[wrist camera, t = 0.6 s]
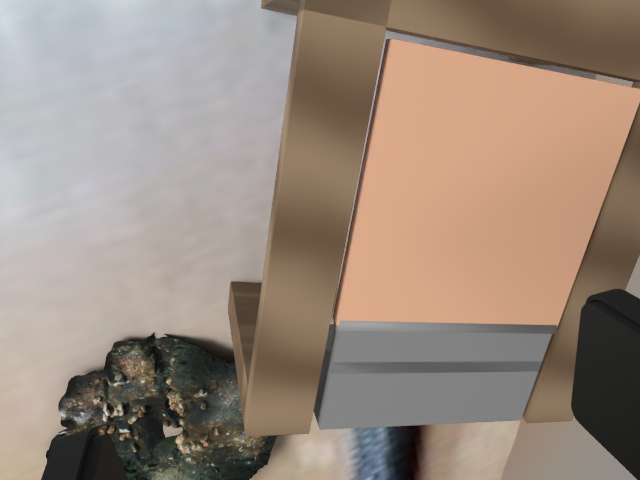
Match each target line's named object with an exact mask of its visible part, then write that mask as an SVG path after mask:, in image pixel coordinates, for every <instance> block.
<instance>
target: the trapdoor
mask: <svg viewBox="0 0 640 480" xmlns="http://www.w3.org/2000/svg"><path fill="white" fill-rule="evenodd" d="M639 103H640V89H638V88H633V87H628V86H623V85H618V84H613V83H608V82H603V81H598V80H593V79H588V78H584V77H579V76H574V75H569V74H564V73H559V72H554V71H549V70H544V69H539V68H534V67H529V66H524V65H519V64H515V63H510V62H505V61H500V60H495V59H490V58H485V57H480V56H475V55H470V54H465V53H460V52H455V51H450V50H446V49H441V48H436V47H431V46H426V45H421V44H416V43H411V42H406V41H401V40H396V39H386V43H385V49H384V54H383V59H382V64H381V70H380V75H379V80H378V85H377V90H376V96H375V101H374V106H373V111H372V116H371V122H370V127H369V132H368V137H367V143H366V148H365V153H364V158H363V163H362V169H361V174H360V179H359V184H358V189H357V195H356V200H355V205H354V210H353V216H352V221H351V226H350V231H349V236H348V242H347V247H346V252H345V257H344V263H343V268H342V273H341V278H340V283H339V289H338V294H337V299H336V304H335V309H334V315H333V319H334V324H330V326H329V331H328V337H327V342H326V347H325V353H324V358H323V363H322V368H321V374H320V379H319V384H318V389H317V395H316V400H315V405H314V410H313V411H314V414H315V417H316V420H317V422H318V425H319V428H320V430H322V429H344V428H366V427H387V426H409V425H430V424H452V423H474V422H495V421H517V420H521V418H522V415H523V413H524V410H525V407H526V404H527V402H528V399H529V396H530V393H531V391H532V388H533V385H534V382H535V380H536V377H537V374H538V371H539V369H540V366H541V363H542V360H543V358H544V355H545V352H546V349H547V347H548V344H549V341H550V338H551V336H552V334H554V333H555V332H556V330H557V327H558V324H559V321H560V319H561V316H562V313H563V310H564V308H565V305H566V302H567V299H568V297H569V294H570V291H571V289H572V286H573V283H574V280H575V278H576V275H577V272H578V269H579V267H580V264H581V261H582V259H583V256H584V253H585V250H586V248H587V245H588V242H589V239H590V237H591V234H592V231H593V229H594V226H595V223H596V220H597V218H598V215H599V212H600V209H601V207H602V204H603V201H604V199H605V196H606V193H607V190H608V188H609V185H610V182H611V179H612V177H613V174H614V171H615V169H616V166H617V163H618V160H619V158H620V155H621V152H622V149H623V147H624V144H625V141H626V138H627V136H628V133H629V130H630V128H631V125H632V122H633V119H634V117H635V114H636V111H637V108H638V106H639Z"/></svg>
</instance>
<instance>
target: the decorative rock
mask: <svg viewBox="0 0 640 480" xmlns="http://www.w3.org/2000/svg"><path fill="white" fill-rule="evenodd" d="M164 335H165V334H164ZM166 336H167V337H161V338H159V339H156V338H155V336H154V333H153V334H152V335H151V336H150V337H148V338H147V339H145V340H143V341H118V342H115V343H114V345H113V347H112V350H111V351H110V352H109V353H108V354H107V357H106V362H105V368H104V370H103V371H99V372H97V371H93V372H90V373H88V374H87V375H83V376H74V377H73V378H71V380H70V381H69V383H68V387H67V391H66V393H65V395H64V396H63V397H62V398H61V400H60V402H59V412H60V414H61V417H62V418H61V425H62V426H64V427H67V428H68V429H65V430H63V431H61V432H59V434H57V435H56V436H55V437H54V438H53V440H52V441H51V445H50V448H49V450H48V451H47V453H46V458H47V462H48V459H49V456H50V453H51V450H52V447H53V445H54V443H55V441H56V439H57V438H59V437H61V436H65V435H69V434H73V433H76V432H80V431H84V430H88V429H91V428H95V429H96V430H97V431H98V433H99V435H103V434H109V435H110V436H111V438H112V441H113V443H114V446H115V448H116V450H117V453H118V455H119V458H120V460H121V463H122V465H123V468H124V470H125V473H126V475H127V477H128V480H249V479H250V478H252V477H253V475H255V474H256V473H257V471H258V470H259V469H260V468H263V467H264V465H267V464H268V460H269V458H270V453H271V450H272V448H273V445H274V443H275V439H276V437H277V435H270V436H250V437H245V430H244V422H243V415H242V408H241V400H240V393H239V386H238V378H237V371H236V364H235V361H234V362H232V363H229V364H228V363H227V362H226V361H225V360H222V359H218V358H217V357H213V355H212V354H209V353H208V352H206V351H204V349H201V348H199V347H197V346H196V345H193V344H188V343H187V342H184V341H182V340H178V339H173V337H169V336H168V335H166ZM163 425H165V426H167V427H169V426H170V425H171V426H172V427H174V428H178V427H182V428H183V431H182V432H181V434H179V435H176V436H171V437H167V438H165V435H164V433H163Z"/></svg>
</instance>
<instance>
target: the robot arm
mask: <svg viewBox="0 0 640 480" xmlns="http://www.w3.org/2000/svg"><path fill="white" fill-rule="evenodd" d="M571 409H572V412H573V414H574V416H575V418H576V420H577V421H578V422H579V423H580V424H581V425H582V426H583V427H584V428H585V429H586V430H587V431H588V432H589V433H590V434H591V435H592V436H593V437H594V438H595V439H596V440H597V441H598V442H599V443H600V444H601V445H602V446H603V447H604V448H605V449H606V450H607V451H609V452H610V453H611V454H612V455H613V456H614V457H615V458H616V459H617V460H618V461H619V462H620V463H621V464H622V465H623V466H624V467H625V468H626V469H627V470H628V471H629V472H630V473H631V474H632V475H633V476H634V477H635V478H637V480H640V299H639V298H637V297H635V296H634V295H632V294H630V293H628V292H626V291H624V290H622V289H612V290H608V291H605V292H601V293H597V294H593V295H591V296H589V297H588V298H587V300H586V303H585V305H583V307H582V309H581V314H580V323H579V333H578V342H577V352H576V361H575V371H574V380H573V390H572V399H571ZM41 480H128V477H127V475H126V473H125V470H124V468H123V465H122V463H121V460H120V458H119V455H118V453H117V450H116V448H115V446H114V443H113V441H112V438H111V436H110V435H109V434H103V435H99V433H98V431H97V430H96V429H95V428H91V429H88V430H84V431H80V432H76V433H73V434H69V435H65V436H61V437H59V438H57V439H56V441H55V443H54V445H53V447H52V450H51V453H50V456H49V459H48V462H47V464H46V467H45V470H44V473H43V476H42V479H41Z"/></svg>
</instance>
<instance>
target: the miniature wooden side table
mask: <svg viewBox="0 0 640 480" xmlns="http://www.w3.org/2000/svg"><path fill="white" fill-rule="evenodd" d="M261 8H263V9H268V10H273V11H278V12H283V13H287V14H292V15H298V16H297V24H296V31H295V39H294V46H293V54H292V61H291V69H290V76H289V84H288V91H287V99H286V106H285V114H284V121H283V128H282V136H281V143H280V151H279V158H278V166H277V173H276V181H275V188H274V196H273V203H272V211H271V218H270V226H269V233H268V241H267V248H266V256H265V263H264V271H263V278H262V286H261V283H246V282H231V285H230V294H229V303H228V313H229V320H230V327H231V335H232V342H233V349H234V356H235V364H236V371H237V378H238V386H239V393H240V400H241V408H242V415H243V422H244V430H245V437H250V436H270V435H291V434H309V431H310V426H311V421H312V416H313V410H314V405H315V400H316V395H317V389H318V384H319V379H320V374H321V368H322V363H323V358H324V353H325V347H326V342H327V337H328V331H329V326H330V321H331V316H332V310H333V305H334V300H335V295H336V289H337V284H338V279H339V274H340V268H341V263H342V258H343V253H344V247H345V242H346V237H347V232H348V226H349V221H350V216H351V211H352V205H353V200H354V195H355V190H356V184H357V179H358V174H359V169H360V163H361V158H362V153H363V148H364V142H365V137H366V132H367V127H368V121H369V116H370V111H371V106H372V100H373V95H374V90H375V85H376V79H377V74H378V69H379V64H380V58H381V53H382V48H383V42H384V37H385V32H386V30H387V31H392V32H397V33H402V34H406V35H411V36H416V37H421V38H426V39H430V40H435V41H440V42H445V43H450V44H455V45H459V46H464V47H469V48H474V49H479V50H483V51H488V52H493V53H498V54H503V55H508V56H510V59H511V60H516V61H521V62H526V63H531V64H540V65H556V66H561V67H565V68H570V69H575V70H580V71H585V72H589V73H594V74H599V75H604V76H609V77H614V78H618V79H623V80H628V81H633V85H632V87H633V88H638V89H640V0H262V4H261ZM639 255H640V103H639V106H638V108H637V111H636V114H635V117H634V119H633V122H632V125H631V128H630V130H629V133H628V136H627V138H626V141H625V144H624V147H623V149H622V152H621V155H620V158H619V160H618V163H617V166H616V169H615V171H614V174H613V177H612V179H611V182H610V185H609V188H608V190H607V193H606V196H605V199H604V201H603V204H602V207H601V209H600V212H599V215H598V218H597V220H596V223H595V226H594V229H593V231H592V234H591V237H590V239H589V242H588V245H587V248H586V250H585V253H584V256H583V259H582V261H581V264H580V267H579V269H578V272H577V275H576V278H575V280H574V283H573V286H572V289H571V291H570V294H569V297H568V299H567V302H566V305H565V308H564V310H563V313H562V316H561V319H560V321H559V324H558V327H557V330H556V332H555V333H554V334H552V336H551V338H550V341H549V344H548V347H547V349H546V352H545V355H544V358H543V360H542V363H541V366H540V369H539V371H538V374H537V377H536V380H535V382H534V385H533V388H532V391H531V393H530V396H529V399H528V402H527V404H526V407H525V410H524V413H523V415H522V418H523V419H524V420H525V421H526V422H527V423H539V422H557V421H558V422H560V421H572V419H573V417H574V414H573V412H572V409H571V399H572V390H573V380H574V371H575V361H576V352H577V342H578V333H579V323H580V314H581V309H582V307H583V305H585V303H586V300H587V298H588V297H589V296H591V295H593V294H597V293H601V292H605V291H608V290H612V289H622V290H624V291H625V289H626V287H627V284H628V282H629V279H630V277H631V274H632V272H633V269H634V267H635V264H636V262H637V259H638V257H639Z"/></svg>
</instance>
